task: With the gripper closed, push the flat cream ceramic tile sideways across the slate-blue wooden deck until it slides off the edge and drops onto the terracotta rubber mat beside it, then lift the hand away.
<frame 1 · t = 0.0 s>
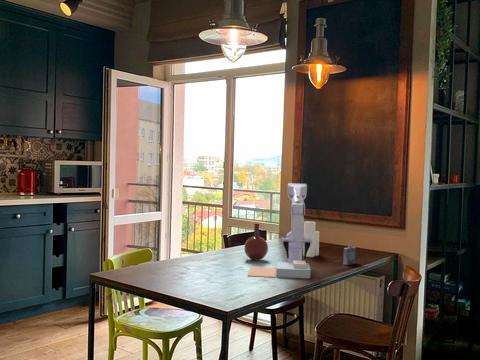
hand: (296, 258, 222), 10 cm above the table, tool pointing down, fingers open, 7 cm apart
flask: (349, 264, 262), on the table
mat: (262, 272, 236), on the table
white tall block: (310, 255, 284), on the table
round-bottom flask: (255, 260, 266), on the table
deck: (293, 274, 234), on the table
tile: (299, 266, 234), point 4 cm above the table, touching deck
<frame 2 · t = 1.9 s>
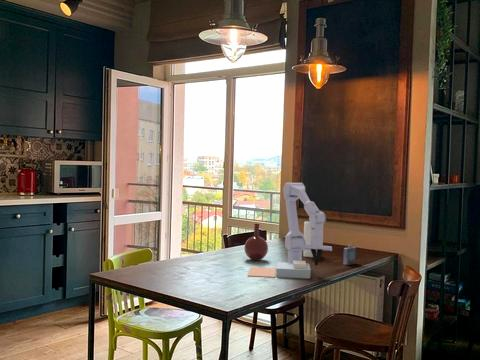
hand: (316, 264, 233), 5 cm above the table, tool pointing down, fingers closed
nothing on the table moved.
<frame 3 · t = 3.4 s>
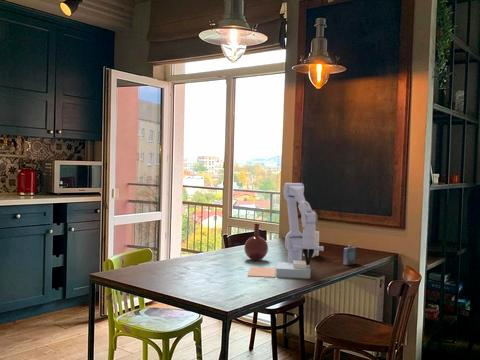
hand: (307, 264, 233), 5 cm above the table, tool pointing down, fingers closed
tile: (299, 266, 234), point 4 cm above the table, touching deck, gripper
everything else where it was.
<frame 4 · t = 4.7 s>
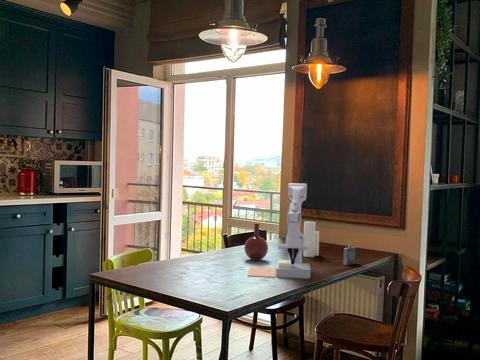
hand: (292, 264, 234), 5 cm above the table, tool pointing down, fingers closed
tile: (284, 265, 234), point 4 cm above the table, touching gripper
everything else where it was.
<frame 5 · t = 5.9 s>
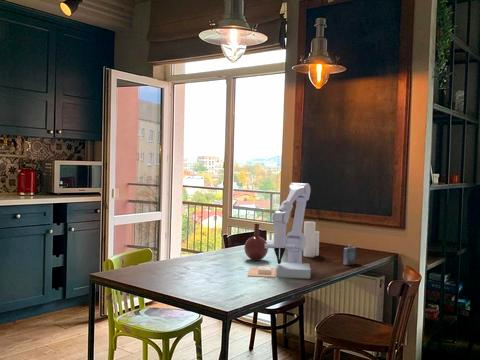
hand: (279, 263, 235), 5 cm above the table, tool pointing down, fingers closed
tile: (264, 267, 235), point 2 cm above the table, tilted 180°, touching mat
everything else where it was.
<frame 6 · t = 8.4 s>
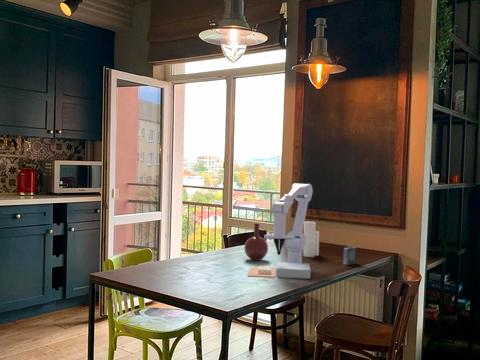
hand: (278, 254, 235), 9 cm above the table, tool pointing down, fingers closed
nothing on the table moved.
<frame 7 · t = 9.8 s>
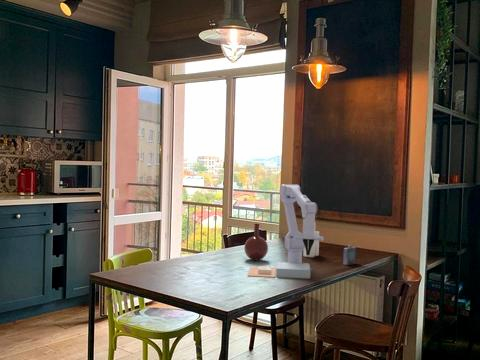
hand: (307, 254, 235), 9 cm above the table, tool pointing down, fingers closed
nothing on the table moved.
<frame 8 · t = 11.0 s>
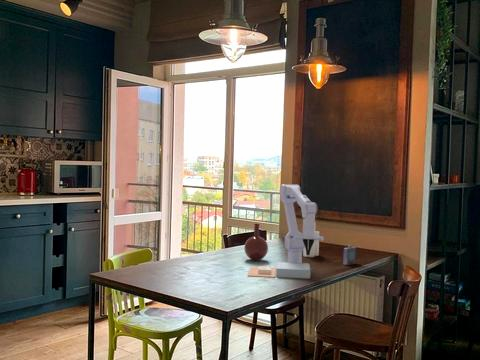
hand: (307, 254, 235), 9 cm above the table, tool pointing down, fingers closed
nothing on the table moved.
at the end: tile inside the target area (1.4 cm from its centre), point 2.4 cm above the table; tile point 2.4 cm above the table; the gripper is holding nothing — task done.
